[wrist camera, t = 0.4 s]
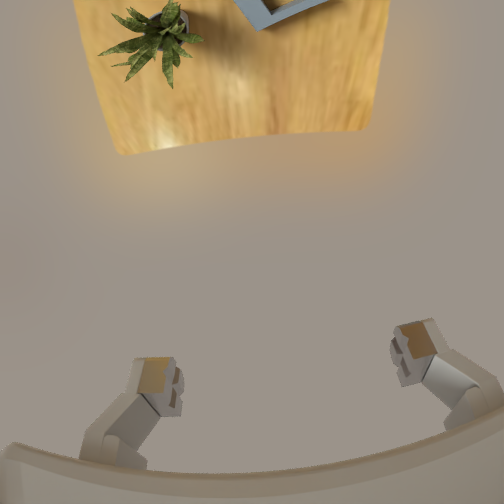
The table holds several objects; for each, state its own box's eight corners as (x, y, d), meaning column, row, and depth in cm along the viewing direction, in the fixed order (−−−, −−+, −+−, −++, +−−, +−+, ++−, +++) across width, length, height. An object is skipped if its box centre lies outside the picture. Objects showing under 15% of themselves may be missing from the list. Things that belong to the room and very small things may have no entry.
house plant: (143, -29, 31) (103, -13, 22) (227, -12, 35) (218, 5, 26) (125, 43, 42) (88, 84, 33) (199, 58, 46) (184, 102, 37)
